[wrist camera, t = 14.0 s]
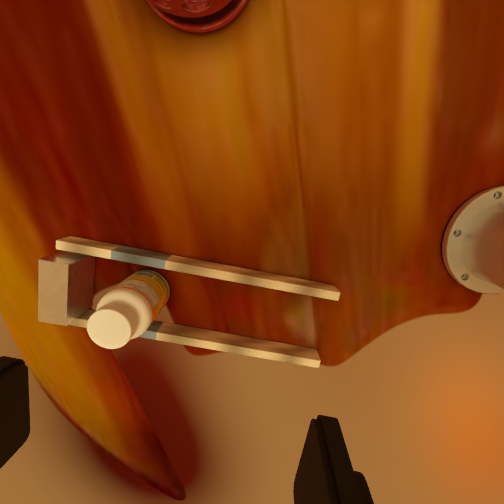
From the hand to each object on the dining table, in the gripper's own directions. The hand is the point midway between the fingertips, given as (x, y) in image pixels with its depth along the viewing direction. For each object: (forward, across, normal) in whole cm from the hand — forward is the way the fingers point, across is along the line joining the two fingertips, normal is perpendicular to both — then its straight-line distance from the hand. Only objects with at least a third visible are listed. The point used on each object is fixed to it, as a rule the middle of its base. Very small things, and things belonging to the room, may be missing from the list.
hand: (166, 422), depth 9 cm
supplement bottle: (+24, +10, +7) cm, 27 cm away
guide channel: (+24, +4, +7) cm, 26 cm away
